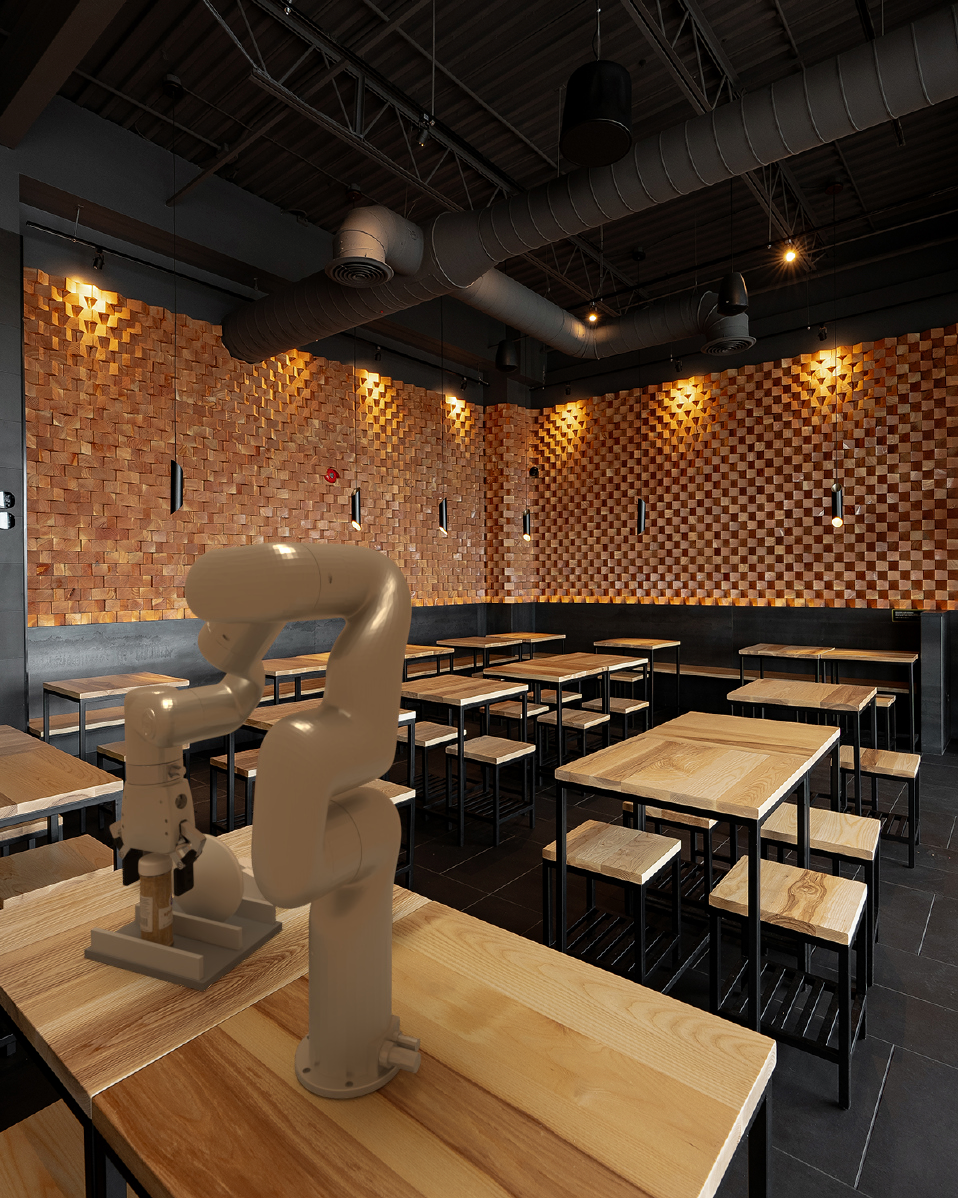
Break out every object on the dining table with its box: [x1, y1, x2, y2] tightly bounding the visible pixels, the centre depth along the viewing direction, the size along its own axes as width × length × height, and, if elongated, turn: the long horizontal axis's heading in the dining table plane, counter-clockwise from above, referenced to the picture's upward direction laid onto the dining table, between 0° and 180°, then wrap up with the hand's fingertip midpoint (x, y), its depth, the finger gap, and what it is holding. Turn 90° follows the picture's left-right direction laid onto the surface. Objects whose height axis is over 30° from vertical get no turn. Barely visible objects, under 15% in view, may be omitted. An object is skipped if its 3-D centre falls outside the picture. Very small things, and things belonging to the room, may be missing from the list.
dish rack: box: [83, 833, 283, 992], centre depth 103 cm, size 22×17×15 cm
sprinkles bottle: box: [138, 852, 174, 947], centre depth 100 cm, size 5×5×13 cm
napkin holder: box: [237, 856, 268, 902], centre depth 119 cm, size 15×11×6 cm
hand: (158, 887), depth 99 cm, fingers open, 9 cm apart
